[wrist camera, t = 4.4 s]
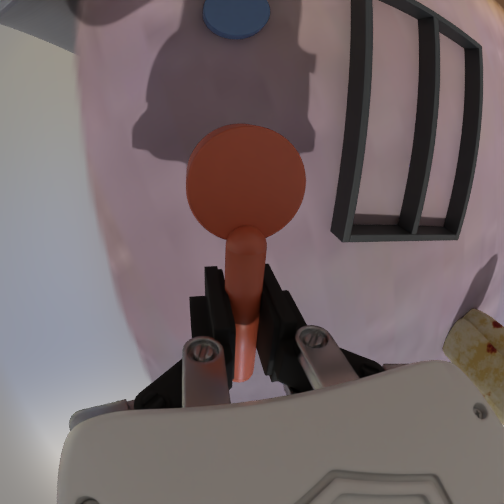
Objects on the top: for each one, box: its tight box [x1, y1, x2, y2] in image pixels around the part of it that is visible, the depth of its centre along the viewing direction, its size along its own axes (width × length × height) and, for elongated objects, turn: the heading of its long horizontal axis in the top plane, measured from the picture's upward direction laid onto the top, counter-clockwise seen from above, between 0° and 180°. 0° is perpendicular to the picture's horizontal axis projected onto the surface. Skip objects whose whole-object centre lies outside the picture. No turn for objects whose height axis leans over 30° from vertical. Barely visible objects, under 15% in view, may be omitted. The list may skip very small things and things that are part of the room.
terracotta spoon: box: [186, 124, 306, 382], centre depth 11 cm, size 4×11×3 cm, turn 176°
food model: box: [443, 309, 504, 425], centre depth 25 cm, size 10×7×20 cm
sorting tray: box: [330, 0, 483, 242], centre depth 17 cm, size 14×20×3 cm
